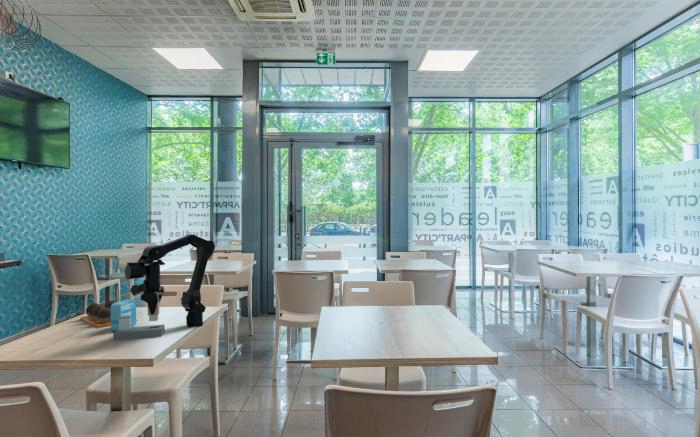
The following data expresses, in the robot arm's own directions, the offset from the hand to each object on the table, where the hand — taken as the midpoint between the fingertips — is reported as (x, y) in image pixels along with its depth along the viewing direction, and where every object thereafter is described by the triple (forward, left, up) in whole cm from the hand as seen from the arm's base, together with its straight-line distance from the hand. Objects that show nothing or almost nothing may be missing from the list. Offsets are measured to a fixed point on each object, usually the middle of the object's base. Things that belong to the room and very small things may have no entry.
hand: (153, 313), depth 179 cm
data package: (+16, -17, -9) cm, 25 cm away
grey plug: (+11, 0, -9) cm, 14 cm away
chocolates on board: (+27, -37, -10) cm, 47 cm away
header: (+6, 0, -9) cm, 11 cm away
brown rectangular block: (0, 0, -4) cm, 4 cm away
